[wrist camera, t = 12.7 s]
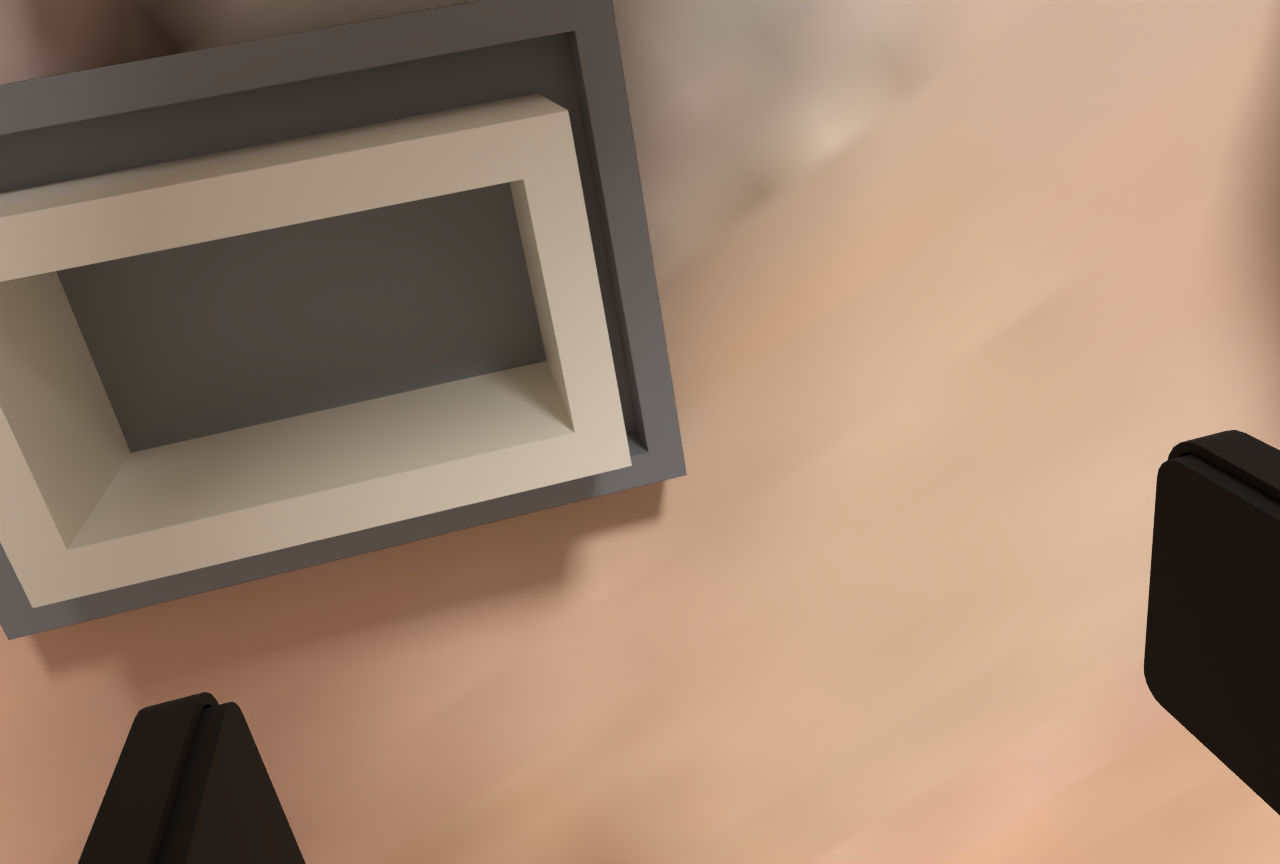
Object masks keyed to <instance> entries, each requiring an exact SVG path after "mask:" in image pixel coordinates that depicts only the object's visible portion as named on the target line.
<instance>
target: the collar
mask: <svg viewBox="0 0 1280 864" xmlns="http://www.w3.org/2000/svg"><path fill="white" fill-rule="evenodd" d="M507 182H509V183H510V188H511V192H512V197H513V202H514V207H515V211H516V216H517V221H518V226H519V231H520V235H521V240H522V245H523V250H524V254H525V259H526V264H527V269H528V274H529V278H530V283H531V288H532V293H533V298H534V302H535V307H536V312H537V317H538V321H539V326H540V331H541V336H542V341H543V345H544V350H545V355H546V360H547V361H543V362H539V363H534V364H530V365H525V366H521V367H516V368H512V369H507V370H503V371H498V372H494V373H489V374H485V375H480V376H476V377H471V378H466V379H462V380H457V381H453V382H448V383H444V384H439V385H435V386H430V387H426V388H421V389H417V390H412V391H408V392H403V393H399V394H394V395H390V396H385V397H381V398H376V399H372V400H367V401H362V402H358V403H353V404H349V405H344V406H340V407H335V408H331V409H326V410H322V411H317V412H313V413H308V414H304V415H299V416H295V417H290V418H286V419H281V420H277V421H272V422H267V423H263V424H258V425H254V426H249V427H245V428H240V429H236V430H231V431H227V432H222V433H218V434H213V435H209V436H204V437H200V438H195V439H191V440H186V441H182V442H177V443H172V444H168V445H163V446H159V447H154V448H150V449H145V450H141V451H136V452H132V453H131V452H130V449H129V447H128V445H127V442H126V440H125V437H124V435H123V432H122V430H121V428H120V425H119V423H118V420H117V418H116V415H115V413H114V411H113V408H112V406H111V403H110V401H109V398H108V396H107V394H106V391H105V389H104V386H103V384H102V381H101V379H100V377H99V374H98V372H97V369H96V367H95V364H94V362H93V360H92V357H91V355H90V352H89V350H88V347H87V345H86V343H85V340H84V338H83V335H82V333H81V330H80V328H79V326H78V323H77V321H76V318H75V316H74V313H73V311H72V309H71V306H70V304H69V301H68V299H67V296H66V294H65V292H64V289H63V287H62V284H61V282H60V279H59V277H58V275H57V272H56V271H59V270H64V269H69V268H74V267H79V266H84V265H89V264H94V263H100V262H105V261H110V260H115V259H120V258H125V257H130V256H135V255H140V254H145V253H150V252H156V251H161V250H166V249H171V248H176V247H181V246H186V245H191V244H196V243H201V242H206V241H212V240H217V239H222V238H227V237H232V236H237V235H242V234H247V233H252V232H257V231H262V230H268V229H273V228H278V227H283V226H288V225H293V224H298V223H303V222H308V221H313V220H318V219H324V218H329V217H334V216H339V215H344V214H349V213H354V212H359V211H364V210H369V209H374V208H380V207H385V206H390V205H395V204H400V203H405V202H410V201H415V200H420V199H425V198H430V197H436V196H441V195H446V194H451V193H456V192H461V191H466V190H471V189H476V188H481V187H486V186H492V185H497V184H502V183H507ZM629 466H632V464H631V458H630V452H629V447H628V441H627V436H626V430H625V425H624V419H623V413H622V408H621V402H620V397H619V391H618V386H617V380H616V374H615V369H614V363H613V358H612V352H611V347H610V341H609V335H608V330H607V324H606V319H605V313H604V308H603V302H602V296H601V291H600V285H599V280H598V274H597V269H596V263H595V257H594V252H593V246H592V241H591V235H590V230H589V224H588V218H587V213H586V207H585V202H584V196H583V191H582V185H581V179H580V174H579V168H578V163H577V157H576V152H575V146H574V140H573V135H572V129H571V124H570V118H569V113H568V110H566V109H565V108H563V107H561V106H559V105H558V104H556V103H554V102H552V101H551V100H549V99H547V98H546V97H544V96H542V95H540V94H539V93H536V94H531V95H526V96H520V97H515V98H509V99H504V100H499V101H493V102H488V103H482V104H477V105H472V106H466V107H461V108H456V109H450V110H445V111H439V112H434V113H429V114H423V115H418V116H412V117H407V118H402V119H396V120H391V121H385V122H380V123H375V124H369V125H364V126H358V127H353V128H348V129H342V130H337V131H331V132H326V133H321V134H315V135H310V136H305V137H299V138H294V139H288V140H283V141H278V142H272V143H267V144H261V145H256V146H251V147H245V148H240V149H234V150H229V151H224V152H218V153H213V154H207V155H202V156H197V157H191V158H186V159H180V160H175V161H170V162H164V163H159V164H153V165H148V166H143V167H137V168H132V169H127V170H121V171H116V172H110V173H105V174H100V175H94V176H89V177H83V178H78V179H73V180H67V181H62V182H56V183H51V184H46V185H40V186H35V187H29V188H24V189H19V190H13V191H8V192H2V193H0V543H1V545H2V547H3V549H4V551H5V553H6V555H7V557H8V559H9V561H10V563H11V565H12V567H13V569H14V571H15V573H16V575H17V577H18V579H19V581H20V583H21V585H22V587H23V589H24V591H25V593H26V595H27V597H28V600H29V602H30V604H31V606H32V608H36V607H40V606H44V605H48V604H53V603H57V602H61V601H65V600H69V599H74V598H78V597H82V596H86V595H90V594H95V593H99V592H103V591H107V590H111V589H116V588H120V587H124V586H128V585H133V584H137V583H141V582H145V581H149V580H154V579H158V578H162V577H166V576H170V575H175V574H179V573H183V572H187V571H191V570H196V569H200V568H204V567H208V566H212V565H217V564H221V563H225V562H229V561H233V560H238V559H242V558H246V557H250V556H255V555H259V554H263V553H267V552H271V551H276V550H280V549H284V548H288V547H292V546H297V545H301V544H305V543H309V542H313V541H318V540H322V539H326V538H330V537H334V536H339V535H343V534H347V533H351V532H355V531H360V530H364V529H368V528H372V527H377V526H381V525H385V524H389V523H393V522H398V521H402V520H406V519H410V518H414V517H419V516H423V515H427V514H431V513H435V512H440V511H444V510H448V509H452V508H456V507H461V506H465V505H469V504H473V503H478V502H482V501H486V500H490V499H494V498H499V497H503V496H507V495H511V494H515V493H520V492H524V491H528V490H532V489H536V488H541V487H545V486H549V485H553V484H557V483H562V482H566V481H570V480H574V479H578V478H583V477H587V476H591V475H595V474H600V473H604V472H608V471H612V470H616V469H621V468H625V467H629Z"/></svg>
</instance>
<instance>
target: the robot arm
mask: <svg viewBox="0 0 1280 864" xmlns="http://www.w3.org/2000/svg"><path fill="white" fill-rule="evenodd" d="M1144 675H1145V679H1146V682H1147V685H1148V687H1149V689H1150V691H1151V693H1152V695H1153V696H1154V698H1155V699H1156V700H1157V701H1158V703H1159V704H1160V705H1161V706H1162V707H1163V708H1164V709H1166V710H1167V711H1168V712H1169V713H1170V714H1171V715H1172V716H1173V717H1174V718H1175V719H1176V720H1177V721H1178V722H1180V723H1181V724H1182V725H1183V726H1184V727H1185V728H1186V729H1187V730H1188V731H1189V732H1190V733H1191V734H1193V735H1194V736H1195V737H1196V738H1197V739H1198V740H1199V741H1200V742H1201V743H1202V744H1203V745H1204V746H1205V747H1207V748H1208V749H1209V750H1210V751H1211V752H1212V753H1213V754H1214V755H1215V756H1216V757H1217V758H1218V759H1220V760H1221V761H1222V762H1223V763H1224V764H1225V765H1226V766H1227V767H1228V768H1229V769H1230V770H1231V771H1233V772H1234V773H1235V774H1236V775H1237V776H1238V777H1239V778H1240V779H1241V780H1242V781H1243V782H1244V783H1245V784H1247V785H1248V786H1249V787H1250V788H1251V789H1252V790H1253V791H1254V792H1255V793H1256V794H1257V795H1258V796H1260V797H1261V798H1262V799H1263V800H1264V801H1265V802H1266V803H1267V804H1268V805H1269V806H1270V807H1271V808H1272V809H1274V810H1275V811H1276V812H1277V813H1278V814H1279V815H1280V450H1278V449H1276V448H1274V447H1272V446H1270V445H1268V444H1266V443H1264V442H1262V441H1260V440H1258V439H1256V438H1254V437H1252V436H1250V435H1248V434H1246V433H1243V432H1240V431H1237V430H1230V431H1224V432H1220V433H1216V434H1212V435H1208V436H1204V437H1201V438H1197V439H1193V440H1189V441H1185V442H1181V443H1179V444H1178V445H1176V446H1175V447H1173V449H1172V451H1171V452H1170V454H1169V457H1168V460H1167V461H1166V462H1164V463H1163V464H1162V465H1161V467H1160V468H1159V471H1158V475H1157V486H1156V501H1155V515H1154V529H1153V544H1152V558H1151V572H1150V586H1149V601H1148V615H1147V629H1146V643H1145V658H1144ZM78 864H305V861H304V859H303V857H302V854H301V852H300V849H299V847H298V845H297V842H296V840H295V837H294V835H293V833H292V830H291V828H290V825H289V823H288V821H287V818H286V816H285V813H284V811H283V809H282V806H281V804H280V801H279V799H278V797H277V794H276V792H275V790H274V787H273V785H272V782H271V780H270V778H269V775H268V773H267V770H266V768H265V766H264V763H263V761H262V758H261V756H260V754H259V751H258V749H257V746H256V744H255V742H254V739H253V737H252V735H251V732H250V730H249V727H248V725H247V723H246V720H245V718H244V715H243V713H242V711H241V709H240V707H239V706H238V705H237V704H236V703H234V702H229V703H225V704H221V705H219V704H218V702H217V700H216V699H215V698H214V697H213V696H212V694H210V693H207V692H204V693H200V694H196V695H192V696H188V697H184V698H180V699H176V700H172V701H168V702H164V703H161V704H157V705H153V706H149V707H145V708H143V709H141V710H140V711H139V712H138V714H137V716H136V717H135V719H134V722H133V724H132V727H131V729H130V732H129V735H128V737H127V740H126V742H125V745H124V747H123V750H122V752H121V755H120V757H119V760H118V763H117V765H116V768H115V770H114V773H113V775H112V778H111V780H110V783H109V786H108V788H107V791H106V793H105V796H104V798H103V801H102V803H101V806H100V809H99V811H98V814H97V816H96V819H95V821H94V824H93V826H92V829H91V832H90V834H89V837H88V839H87V842H86V844H85V847H84V849H83V852H82V854H81V857H80V860H79V862H78Z"/></svg>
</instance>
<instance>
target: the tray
mask: <svg viewBox="0 0 1280 864" xmlns="http://www.w3.org/2000/svg"><path fill="white" fill-rule="evenodd" d="M536 93H539V94H540V95H542V96H544V97H546V98H547V99H549V100H551V101H552V102H554V103H556V104H558V105H559V106H561V107H563V108H565V109H566V110H568V113H569V118H570V124H571V129H572V135H573V140H574V146H575V152H576V157H577V163H578V168H579V174H580V179H581V185H582V191H583V196H584V202H585V207H586V213H587V218H588V224H589V230H590V235H591V241H592V246H593V252H594V257H595V263H596V269H597V274H598V280H599V285H600V291H601V296H602V302H603V308H604V313H605V319H606V324H607V330H608V335H609V341H610V347H611V352H612V358H613V363H614V369H615V374H616V380H617V386H618V391H619V397H620V402H621V408H622V413H623V419H624V425H625V430H626V436H627V441H628V447H629V452H630V458H631V464H632V466H629V467H625V468H621V469H616V470H612V471H608V472H604V473H600V474H595V475H591V476H587V477H583V478H578V479H574V480H570V481H566V482H562V483H557V484H553V485H549V486H545V487H541V488H536V489H532V490H528V491H524V492H520V493H515V494H511V495H507V496H503V497H499V498H494V499H490V500H486V501H482V502H478V503H473V504H469V505H465V506H461V507H456V508H452V509H448V510H444V511H440V512H435V513H431V514H427V515H423V516H419V517H414V518H410V519H406V520H402V521H398V522H393V523H389V524H385V525H381V526H377V527H372V528H368V529H364V530H360V531H355V532H351V533H347V534H343V535H339V536H334V537H330V538H326V539H322V540H318V541H313V542H309V543H305V544H301V545H297V546H292V547H288V548H284V549H280V550H276V551H271V552H267V553H263V554H259V555H255V556H250V557H246V558H242V559H238V560H233V561H229V562H225V563H221V564H217V565H212V566H208V567H204V568H200V569H196V570H191V571H187V572H183V573H179V574H175V575H170V576H166V577H162V578H158V579H154V580H149V581H145V582H141V583H137V584H133V585H128V586H124V587H120V588H116V589H111V590H107V591H103V592H99V593H95V594H90V595H86V596H82V597H78V598H74V599H69V600H65V601H61V602H57V603H53V604H48V605H44V606H40V607H36V608H32V606H31V604H30V602H29V600H28V597H27V595H26V593H25V591H24V589H23V587H22V585H21V583H20V581H19V579H18V577H17V575H16V573H15V571H14V569H13V567H12V565H11V563H10V561H9V559H8V557H7V555H6V553H5V551H4V549H3V547H2V545H1V543H0V624H1V626H2V628H3V630H4V632H5V634H6V636H7V638H8V639H9V640H11V639H15V638H19V637H23V636H27V635H31V634H35V633H39V632H43V631H48V630H52V629H56V628H60V627H64V626H68V625H72V624H76V623H80V622H84V621H89V620H93V619H97V618H101V617H105V616H109V615H113V614H117V613H121V612H126V611H130V610H134V609H138V608H142V607H146V606H150V605H154V604H158V603H162V602H167V601H171V600H175V599H179V598H183V597H187V596H191V595H195V594H199V593H203V592H208V591H212V590H216V589H220V588H224V587H228V586H232V585H236V584H240V583H245V582H249V581H253V580H257V579H261V578H265V577H269V576H273V575H277V574H281V573H286V572H290V571H294V570H298V569H302V568H306V567H310V566H314V565H318V564H323V563H327V562H331V561H335V560H339V559H343V558H347V557H351V556H355V555H359V554H364V553H368V552H372V551H376V550H380V549H384V548H388V547H392V546H396V545H400V544H405V543H409V542H413V541H417V540H421V539H425V538H429V537H433V536H437V535H442V534H446V533H450V532H454V531H458V530H462V529H466V528H470V527H474V526H478V525H483V524H487V523H491V522H495V521H499V520H503V519H507V518H511V517H515V516H520V515H524V514H528V513H532V512H536V511H540V510H544V509H548V508H552V507H556V506H561V505H565V504H569V503H573V502H577V501H581V500H585V499H589V498H593V497H597V496H602V495H606V494H610V493H614V492H618V491H622V490H626V489H630V488H634V487H639V486H643V485H647V484H651V483H655V482H659V481H663V480H667V479H671V478H675V477H680V476H684V475H687V473H686V467H685V461H684V454H683V448H682V442H681V435H680V429H679V423H678V416H677V410H676V404H675V397H674V391H673V385H672V378H671V372H670V366H669V359H668V353H667V347H666V340H665V334H664V328H663V321H662V315H661V309H660V303H659V296H658V290H657V284H656V277H655V271H654V265H653V258H652V252H651V246H650V239H649V233H648V227H647V220H646V214H645V208H644V201H643V195H642V189H641V182H640V176H639V170H638V163H637V157H636V151H635V144H634V138H633V132H632V125H631V119H630V113H629V106H628V100H627V94H626V87H625V81H624V75H623V68H622V62H621V56H620V49H619V43H618V37H617V30H616V24H615V18H614V11H613V5H612V0H482V1H476V2H470V3H464V4H459V5H453V6H447V7H442V8H436V9H430V10H424V11H419V12H413V13H407V14H402V15H396V16H390V17H385V18H379V19H373V20H367V21H362V22H356V23H350V24H345V25H339V26H333V27H328V28H322V29H316V30H310V31H305V32H299V33H293V34H288V35H282V36H276V37H271V38H265V39H259V40H253V41H248V42H242V43H236V44H231V45H225V46H219V47H214V48H208V49H202V50H196V51H191V52H185V53H179V54H174V55H168V56H162V57H157V58H151V59H145V60H139V61H134V62H128V63H122V64H117V65H111V66H105V67H100V68H94V69H88V70H82V71H77V72H71V73H65V74H60V75H54V76H48V77H43V78H37V79H31V80H25V81H20V82H14V83H8V84H3V85H0V193H2V192H8V191H13V190H19V189H24V188H29V187H35V186H40V185H46V184H51V183H56V182H62V181H67V180H73V179H78V178H83V177H89V176H94V175H100V174H105V173H110V172H116V171H121V170H127V169H132V168H137V167H143V166H148V165H153V164H159V163H164V162H170V161H175V160H180V159H186V158H191V157H197V156H202V155H207V154H213V153H218V152H224V151H229V150H234V149H240V148H245V147H251V146H256V145H261V144H267V143H272V142H278V141H283V140H288V139H294V138H299V137H305V136H310V135H315V134H321V133H326V132H331V131H337V130H342V129H348V128H353V127H358V126H364V125H369V124H375V123H380V122H385V121H391V120H396V119H402V118H407V117H412V116H418V115H423V114H429V113H434V112H439V111H445V110H450V109H456V108H461V107H466V106H472V105H477V104H482V103H488V102H493V101H499V100H504V99H509V98H515V97H520V96H526V95H531V94H536ZM56 272H57V275H58V277H59V279H60V282H61V284H62V287H63V289H64V292H65V294H66V296H67V299H68V301H69V304H70V306H71V309H72V311H73V313H74V316H75V318H76V321H77V323H78V326H79V328H80V330H81V333H82V335H83V338H84V340H85V343H86V345H87V347H88V350H89V352H90V355H91V357H92V360H93V362H94V364H95V367H96V369H97V372H98V374H99V377H100V379H101V381H102V384H103V386H104V389H105V391H106V394H107V396H108V398H109V401H110V403H111V406H112V408H113V411H114V413H115V415H116V418H117V420H118V423H119V425H120V428H121V430H122V432H123V435H124V437H125V440H126V442H127V445H128V447H129V449H130V452H131V453H132V452H136V451H141V450H145V449H150V448H154V447H159V446H163V445H168V444H172V443H177V442H182V441H186V440H191V439H195V438H200V437H204V436H209V435H213V434H218V433H222V432H227V431H231V430H236V429H240V428H245V427H249V426H254V425H258V424H263V423H267V422H272V421H277V420H281V419H286V418H290V417H295V416H299V415H304V414H308V413H313V412H317V411H322V410H326V409H331V408H335V407H340V406H344V405H349V404H353V403H358V402H362V401H367V400H372V399H376V398H381V397H385V396H390V395H394V394H399V393H403V392H408V391H412V390H417V389H421V388H426V387H430V386H435V385H439V384H444V383H448V382H453V381H457V380H462V379H466V378H471V377H476V376H480V375H485V374H489V373H494V372H498V371H503V370H507V369H512V368H516V367H521V366H525V365H530V364H534V363H539V362H543V361H547V360H546V355H545V350H544V345H543V341H542V336H541V331H540V326H539V321H538V317H537V312H536V307H535V302H534V298H533V293H532V288H531V283H530V278H529V274H528V269H527V264H526V259H525V254H524V250H523V245H522V240H521V235H520V231H519V226H518V221H517V216H516V211H515V207H514V202H513V197H512V192H511V188H510V183H509V182H507V183H502V184H497V185H492V186H486V187H481V188H476V189H471V190H466V191H461V192H456V193H451V194H446V195H441V196H436V197H430V198H425V199H420V200H415V201H410V202H405V203H400V204H395V205H390V206H385V207H380V208H374V209H369V210H364V211H359V212H354V213H349V214H344V215H339V216H334V217H329V218H324V219H318V220H313V221H308V222H303V223H298V224H293V225H288V226H283V227H278V228H273V229H268V230H262V231H257V232H252V233H247V234H242V235H237V236H232V237H227V238H222V239H217V240H212V241H206V242H201V243H196V244H191V245H186V246H181V247H176V248H171V249H166V250H161V251H156V252H150V253H145V254H140V255H135V256H130V257H125V258H120V259H115V260H110V261H105V262H100V263H94V264H89V265H84V266H79V267H74V268H69V269H64V270H59V271H56Z"/></svg>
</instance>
